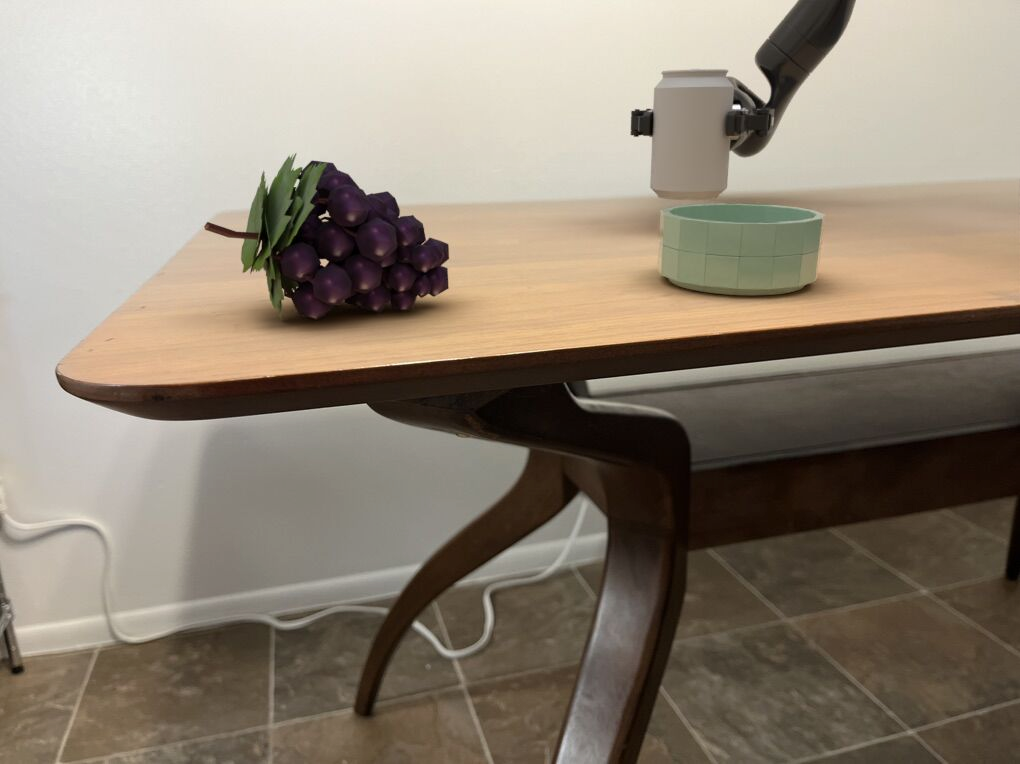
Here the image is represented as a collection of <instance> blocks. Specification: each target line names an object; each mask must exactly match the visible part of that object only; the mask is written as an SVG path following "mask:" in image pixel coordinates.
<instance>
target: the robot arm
mask: <svg viewBox="0 0 1020 764" xmlns="http://www.w3.org/2000/svg"><path fill="white" fill-rule="evenodd" d="M856 1H857V0H797V1H796V2H795V4H794V5H793V6H792V7H791V9H789V11H788V12H787V13H786V15H785V16H784V17H783V19H781V21H780V22H779V23H778V25H776V27H775V28H774V29H773V30H772V32H771V33H770V34H769V36H768V37H767V38H766V39H765V40H764V42H763V43H762V44H761V45H760V46H759V48H758V49H757V51H756V52H755V54H754V58H753V59H754V60H753V61H754V63H755V66H756V68H757V69H758V70H759V72H760V73H761V74H762V75H763V77H764V78H765V80H766V81H767V83H768V85H769V88H770V93H769V94H770V95H769V97H768V100H767V102H766V101H764V100H763V99H762V98H761V97H759V96H758V95H757V94H756V93H755V92H754V91H753V90H751V88H749V87H748V86H747V85H746V84H745V83H743V82H742V81H741V80H739V79H737V78H736V77H735V76H726V77H727V78H728V80H729V81H730V82H731V83H732V85H733V86H734V95H733V109H732V111H729V112H728V118H727V136H731V138H730V152H732V153H733V154H735V155H736V156H737V157H739V158H745V159H746V158H751V157H754V156H756V155H758V154H760V153H761V152H762V151H764V150H765V149H766V147H767V146H768V145H769V143H770V142H771V140H772V139H773V137H774V135H775V133H776V131H777V129H778V127H779V126H780V123H781V121H782V119H783V116H784V115H785V112H786V111H787V109H788V107H789V105H790V104H791V102H792V100H793V98H794V97H795V96H796V94H797V92H798V91H799V89H800V88H801V87H802V85H803V84H804V83H805V82H806V80H807V79H808V78H809V77H810V76H811V74H812V73H813V72H814V71H815V70H816V68H818V66H819V65H820V64H821V63H822V62H823V61H824V59H825V58H826V57H827V56H828V55H829V54H830V52H831V51H832V50H833V49H834V48H835V46H836V45H837V44H838V43H839V41H840V39H841V38H842V36H843V35H844V33H845V31H846V29H847V27H848V26H849V22H850V20H851V18H852V15H853V12H854V9H855V6H856ZM652 133H653V108H646V109H642V110H641V109H639V108H634V110H630V136H633V137H634V138H638V137H639V136H643V137H649V138H652Z"/></svg>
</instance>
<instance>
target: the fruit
mask: <svg viewBox="0 0 1020 764" xmlns="http://www.w3.org/2000/svg"><path fill="white" fill-rule="evenodd" d="M296 157H297V152H295V153H293V154H292V155H291V156H290V154H289V155H288V156H287V158H286V159H285V161H284V162H283V163H282V166H281V167H280V168H279V170H278V171H277V174H276V176H274V178H273V180H272V182H271V184H270V186H269V185H267V179H266V177H265V176H266V175H265V171H264V170H265V169H263V170H262V173H261V177H260V183H259V185H258V186H257V189H256V194H255V195H254V198H253V200H252V201H251V206H250V210H249V215H248V218H247V224H246V229H245V231H236V230H233V229H230V228H227V227H224V226H221V225H218V224H215V223H212V222H210V221H207V222H206V223H205V225H204V226H203V227H204V230H205V231H207V232H211V233H214V234H217V235H220V236H223V237H226V238H229V239H242V240H243V243H242V246H241V253H240V261H241V262H242V265H243V268H242V271H241V272H242V273H243V274H244V273H246V272H248V270H250V272H249V273H250V275H252V273H253V272H254V271H255V273H257V272H258V273H259V272H260V271H262V269H263V270H264V272H265V277H266V284H267V289H268V293H269V295H268V296H269V301H270V302H271V305H272V307H273V308H274V310H275V311H277V312H278V316H279V319H280V321H282V313H283V304H282V303H283V302H282V301H285V297H286V298H287V299H291V301H292V304H293V306H294V308H295V310H296V312H297V314H298V316H300V317H304V318H308V319H312V320H316V321H319V320H321V318H323V317H324V316H325V315H326V314H328V313H329V312H330V311H331V310H332V309H333V308H334V305H337V306H339V305H341V304H342V303H343V302H344V304H346V305H349V306H353V307H356V308H359V309H361V308H362V309H364V310H367V311H371V312H375V313H378V314H381V313H382V311H383V310H384V309H385V307H387V305H389V303H390V306H391V308H393V309H399V310H413V308H414V305H415V302H416V301H417V297H419V298H420V299H423V298H424V297H426V296H427V295H429V296H432V297H433V298H434V297H436V296H439V295H440V294H442V293H444V292H445V291H447V290H449V287H450V286H449V269H448V267H446V266H443V264H445V263H446V262H447V261H448V260H450V247H449V243H447V242H446V241H445V242H444V241H442V240H439V239H436V238H432V237H428V239H427V238H426V233H425V226H424V223H423V222H422V221H420V220H419V219H417V218H416V217H415V215H414V214H411V215H403V216H401V209H400V206H399V204H398V202H397V199H396V197H395V196H394V195H392V194H391V192H389V191H388V190H386V191H381V192H375V193H373V192H371V193H369V194H366V192H365V190H364V189H363V188H360V186H359V185H358V184H357V183H356V182H355V180H354V179H353V178H352V177H351V175H350V174H349V173H346V172H344V171H342V170H339V169H338V168H337V167H336V165H335V163H334V162H329V161H322V160H321V161H319V160H313V159H312V160H311V161H309V163H307V164H306V166H305V167H304V168H303V167H302V166H300V167H298V168H296V169H295V167H293V165H294V163H295V160H296ZM297 181H298V183H297ZM296 183H297V186H295V184H296ZM266 185H267V186H266ZM269 187H270V188H269ZM327 213H328V216H323V215H325V214H327ZM322 216H323V217H322ZM320 217H321V218H320ZM321 260H326V261H327V263H326V265H325V266H324V265H323V264H322V261H321Z"/></svg>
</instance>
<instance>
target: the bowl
mask: <svg viewBox="0 0 1020 764" xmlns="http://www.w3.org/2000/svg"><path fill="white" fill-rule="evenodd" d="M825 220H826V214H825V213H822V212H819V211H817V210H815V209H808V208H803V207H799V206H787V205H778V204H766V203H765V204H763V203H761V204H760V203H738V202H737V203H733V202H731V203H729V202H727V203H722V202H720V203H719V202H718V203H714V202H712V203H694V204H693V203H692V204H683V205H675V206H669V207H667V208H664V209H662V210H660V214H659V231H658V233H659V235H658V251H657V253H658V254H657V255H658V256H657V257H658V258H657V271H658V272H659V274H660V275H661V276H662V277H665V278H668V281H669V283H671V284H673V285H675V286H677V287H679V288H683V289H687V290H691V291H694V292H695V291H696V292H701V293H706V294H715V295H726V296H727V295H728V296H745V297H746V296H748V297H749V296H751V297H752V296H753V297H754V296H755V297H756V296H775V295H784V294H789V293H793V292H798V291H801V290H802V289H803V288H804V287H805V286H806V285H809V284H813V283H815V282H816V280H817V279H818V276H819V274H820V273H819V271H820V264H821V263H820V262H821V254H822V245H823V237H824V231H825V230H824V229H825V222H826V221H825Z"/></svg>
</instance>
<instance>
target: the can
mask: <svg viewBox="0 0 1020 764" xmlns="http://www.w3.org/2000/svg"><path fill="white" fill-rule="evenodd" d="M660 73H661V75H662V79H660V81H659V82H658V83H657V84H656V86H655V87H654V88H653V106H652V107H653V108H652V109H653V133H652V137H651V154H650V155H651V158H650V159H651V160H650V182H649V185H650V186H649V188H650V190H652V191H653V192H654V194H656V195H657V197H658V198H659V199H663V200H673V201H705V200H715V199H718V198H719V196H720V195H721V194H722V193H723V192H725V190H727V189H728V179H729V168H730V167H729V164H730V152H731V151H730V138H731V136H727V118H728V112H729V111H732V109H733V95H734V86H733V85H732V83H731V82H730V81H729V80H728V78H727V77H728V76H727V74H728V73H729V70H728V69H725V68H690V69H671V70H670V69H669V70H662V71H661V72H660Z"/></svg>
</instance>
